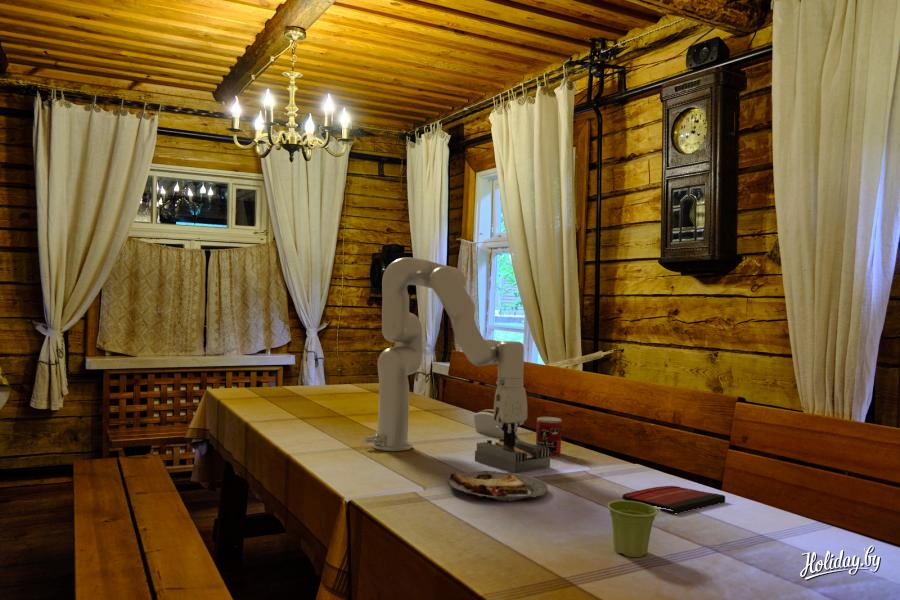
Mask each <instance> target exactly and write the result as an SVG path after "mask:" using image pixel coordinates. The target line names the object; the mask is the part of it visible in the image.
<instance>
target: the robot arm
mask: <svg viewBox="0 0 900 600" xmlns="http://www.w3.org/2000/svg"><path fill="white" fill-rule="evenodd" d="M466 281H467V280H466V275H465V274H464V272H463V271H462V270H461V269H459V268H458V267H454V266H450V265H446V264H442V263H438V262H434V261H431V260H428V259H427V260H426V259H422V258H416V257H411V256H409V257H407V256H406V257H401V258H397V259H395V260H394V261H392V262H391V263H390V264H388V266H387V267H386V268H385V270H384V272H383V274H382V281H381V287H382V288H381V291H382V293H381V294H382V296H381V297H382V301H381V304H382V305H381V333H382V336H383V338H384V339H385V340H387V341H388V342H390V343H394V345H395V346H391V347H388V348H386V349H384V350H383V351H382V352H381V353H380V354H379V356H378V358H377V372H378V373H377V374H378V411H377V412H378V413H377V414H378V417H377V432H374V434H373V435H372V436H365V437H364V438H363V442H364V443H365V444H370V443H372V444H371V446H372V448H373V449H375V450H379V451H388V452H402V451H408V450H409V451H410V450H411V449H412V448H413V443H412V442H411V441H408V438H409V415H410V413H409V412H410V411H409V410H410V383H409V378H408V376H409V375H413V374H415V373H416V372H417V371H419V369H420V367H421V366H422V365H421V364H422V361H423V326H422V322H421V320H420V318H419V317H418V316H417V315H416V314H414V313H412V312H410V294H409V292H408V286H418V287H425V288H429V289H431V290H433V291H434V293H435V296H437V298H438V300H439V301H440V303H441V305H442V306H443V308H444V309H445V312H446V313H447V315H448V317H449V319H450V322H451V327H452V331H453V335H454V337H455V339H456V342H457V343H458V345H459V348H460V349H461V351H462V352H463V354H464V355H465V357H466V359H467V360H468V361H469V362H470V363H471V364H472V365H474V366H477V367H483V366H489V365H496V364H497V379H496V382H495V384H496V385H497V387H496V389H495V394H494V400H493V410H494V420H495V421H496V422H495V426H496V427H500V428H501V429H502V431H503V432H504V438H503V439H504V445H506V446H509V447H512V446H515V440H516V438H515V433H517V432H518V428H519V427H520V426H521V425H524V423H525V422H526V421H527V419H528V399H527V392H526V388H525V387H524V365H525V364H524V361H525V360H524V358H525V346H524V344H523V343H522V342H521V341H512V340H511V341H510V340H509V341H507V340H505V341H504V340H503V341H501V340H496V339H484V337H483V335H482V333H481V332H480V330H479V328H478V326H477V324H476V319H475V312H476V305H475V303H474V301H473V300H472V298H471V297H470V295H469V293H468V292H467V289H466V287H465V286H466V283H467V282H466Z"/></svg>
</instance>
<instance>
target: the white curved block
mask: <svg viewBox="0 0 900 600" xmlns="http://www.w3.org/2000/svg"><path fill="white" fill-rule="evenodd" d="M473 417H474V418H473V421H474V426H475V432H476V431H477V433H480V432H481V433H480V434H484V433H485V434H484V435H488V434H489V436H492V435H493V436H492V437H496V436H497V438H500V437H501V438H502V439H504V432H503V431H502V429H501V428H500V427H496V426H495V422H496V421H495V420H494V409H484V410H483V409H482V410H480V411H478V412H476V413H475V414H474V415H473ZM515 437H516V438H515V439H518V438H519V436H518V433H517V432H515ZM501 438H500V439H501Z"/></svg>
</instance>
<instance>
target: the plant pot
mask: <svg viewBox="0 0 900 600" xmlns="http://www.w3.org/2000/svg"><path fill="white" fill-rule="evenodd" d="M607 508H608V509H609V516H610V517H611V525H612V526H611V527H612V528H611V529H612V537H613V539H612V540H613V550H614V551H615V552H616V553H618V554H622V555H624V556H626V557H629V558H640V557H641V558H642V557H643V556H646V555H647V553H648V550H649V549H648V548H649V543H650V539H651V538H650V537H651V533H652V532H651V531H652V526H653V522H654V521H655V517H656V516H657V515H658V512H659V510H657V509H656V508H655V507H653V506H651V505H648V504H645V503H641V502H635V501H628V500H626V499H623V500H622V499H621V500H614V501H613V500H612V501H610V502H608V503H607Z"/></svg>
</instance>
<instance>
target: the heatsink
mask: <svg viewBox="0 0 900 600" xmlns="http://www.w3.org/2000/svg"><path fill="white" fill-rule="evenodd" d="M502 441H503V442H504V438H499V441H498V442H502ZM514 447H516V448H518V449H520V450H523V451H525V452H527V453H529V454H531V455H528V456H527V453H525V452H519V451H515V450H512V449H508V448H504V447H501V446H497V445H495V444H493V441H492V440H491V439H487V441H483V442H482V441H481V442H476V450H475V451H474V462H477V463H480V464H483V465H487V466H490V467H493V468H496V469H500V470H503V471H504V472H505V471H506V472H507V473H515V474H521V473H525V472H531V471H537V469H538V470H542V469H541V468H544V469H547V468H546V467H549V468H551V456H549V448H545V447H542V446H538V445H536V444H533V443H530V442H525V441H522V440H520V439H519V440H518V439H515V446H514Z"/></svg>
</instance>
